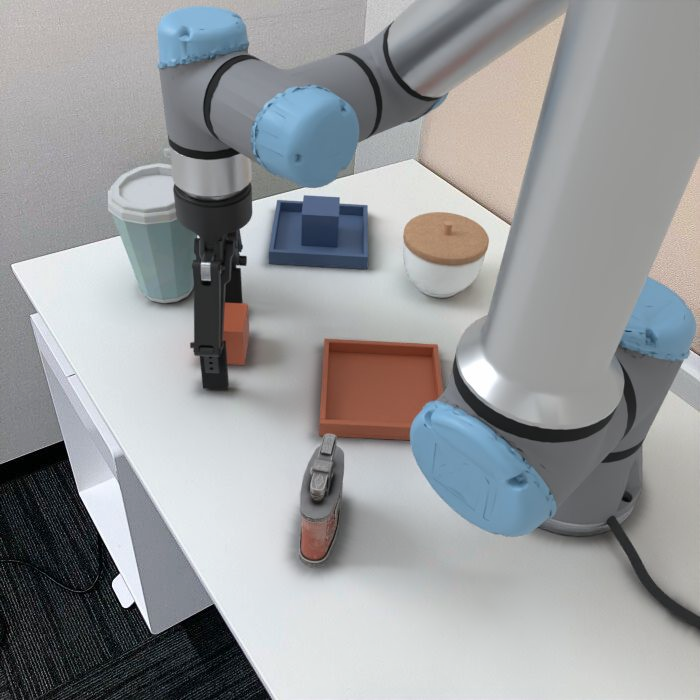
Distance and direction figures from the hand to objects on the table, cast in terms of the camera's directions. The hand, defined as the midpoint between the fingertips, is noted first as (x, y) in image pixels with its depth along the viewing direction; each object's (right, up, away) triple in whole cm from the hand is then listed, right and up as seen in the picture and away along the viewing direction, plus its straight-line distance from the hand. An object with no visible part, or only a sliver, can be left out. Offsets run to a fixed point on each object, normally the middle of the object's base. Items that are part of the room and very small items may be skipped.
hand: (224, 347), depth 86 cm
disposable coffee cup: (-9, +7, +8) cm, 14 cm away
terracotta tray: (+18, -5, -4) cm, 19 cm away
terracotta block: (0, 0, 0) cm, 0 cm away
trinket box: (+26, +8, +12) cm, 30 cm away
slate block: (+10, +16, +18) cm, 26 cm away
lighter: (+12, -17, -17) cm, 27 cm away
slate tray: (+10, +15, +18) cm, 26 cm away
